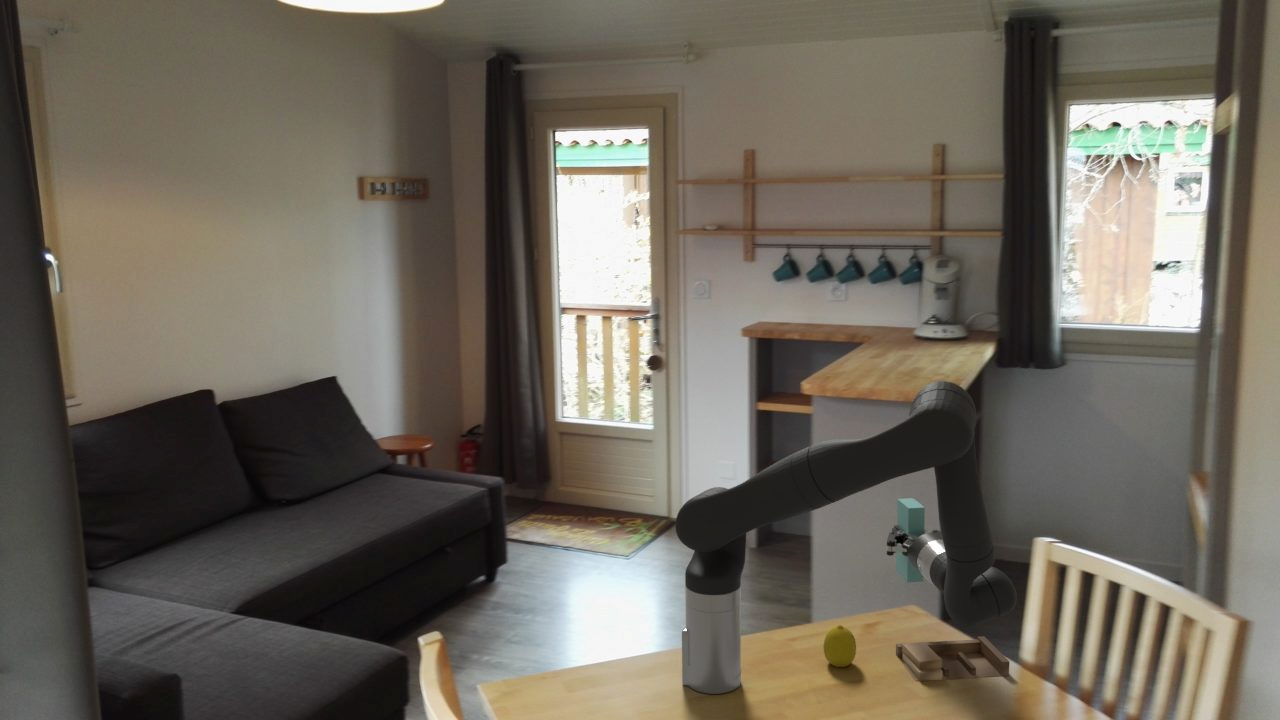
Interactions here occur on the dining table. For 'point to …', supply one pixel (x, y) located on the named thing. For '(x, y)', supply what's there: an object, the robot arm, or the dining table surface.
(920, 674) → the offcut lower
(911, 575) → the teal rectangular block
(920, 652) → the offcut upper
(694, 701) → the dining table surface
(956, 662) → the rack
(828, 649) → the lemon
